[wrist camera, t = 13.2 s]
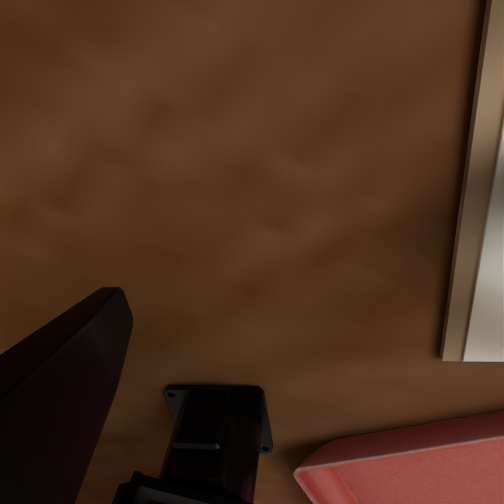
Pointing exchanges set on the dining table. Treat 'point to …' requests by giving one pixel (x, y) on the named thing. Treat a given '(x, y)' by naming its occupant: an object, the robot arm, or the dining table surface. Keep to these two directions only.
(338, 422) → the dining table surface
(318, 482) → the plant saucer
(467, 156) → the clipboard
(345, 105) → the dining table surface
